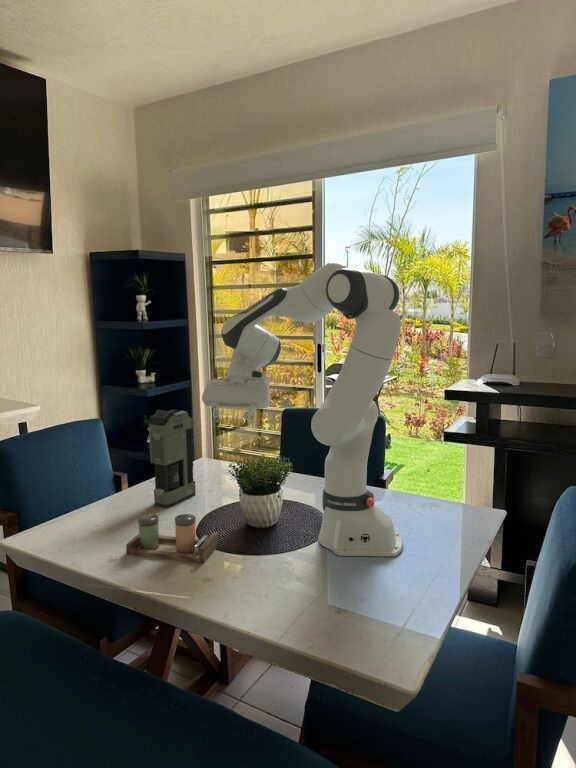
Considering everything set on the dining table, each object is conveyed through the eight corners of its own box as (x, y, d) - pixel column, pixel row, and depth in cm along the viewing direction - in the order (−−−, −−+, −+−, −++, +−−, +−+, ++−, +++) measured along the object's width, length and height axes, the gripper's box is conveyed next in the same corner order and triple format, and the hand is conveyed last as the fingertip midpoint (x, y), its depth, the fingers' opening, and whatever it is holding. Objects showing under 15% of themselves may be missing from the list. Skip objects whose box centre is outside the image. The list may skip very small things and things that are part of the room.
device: (167, 509, 169) (164, 414, 165) (149, 504, 173) (145, 412, 168) (196, 495, 181) (194, 406, 177) (179, 491, 185) (176, 404, 180)
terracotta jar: (199, 547, 142) (198, 515, 141) (191, 556, 137) (190, 523, 136) (180, 545, 143) (179, 513, 142) (172, 554, 138) (171, 521, 137)
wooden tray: (218, 546, 143) (218, 532, 143) (204, 564, 134) (203, 549, 133) (145, 538, 148) (144, 525, 147) (126, 555, 138) (125, 540, 138)
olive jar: (163, 544, 144) (162, 515, 143) (154, 552, 139) (152, 523, 138) (145, 542, 145) (143, 513, 144) (135, 550, 140) (134, 521, 139)
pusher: (211, 547, 142) (210, 536, 141) (201, 558, 136) (201, 546, 135) (204, 546, 142) (204, 535, 142) (194, 558, 136) (194, 546, 136)
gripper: (205, 372, 164) (193, 410, 156) (270, 373, 160) (262, 412, 152) (211, 384, 169) (200, 422, 161) (274, 386, 165) (266, 424, 157)
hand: (230, 417), depth 157 cm, fingers open, 8 cm apart
